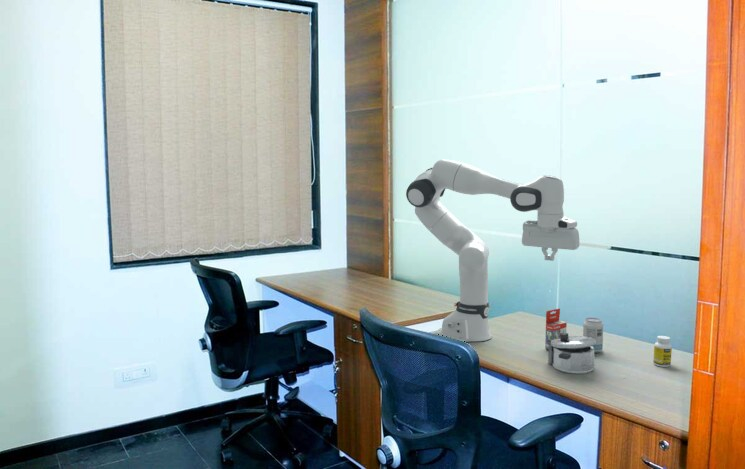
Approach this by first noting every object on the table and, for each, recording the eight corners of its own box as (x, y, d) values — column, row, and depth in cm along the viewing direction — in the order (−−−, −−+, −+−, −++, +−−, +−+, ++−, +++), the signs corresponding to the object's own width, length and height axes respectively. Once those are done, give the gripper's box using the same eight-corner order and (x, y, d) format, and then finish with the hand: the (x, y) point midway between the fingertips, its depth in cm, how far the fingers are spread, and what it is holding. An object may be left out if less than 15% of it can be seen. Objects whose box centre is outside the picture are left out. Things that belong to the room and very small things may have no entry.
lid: (542, 348, 203) (541, 338, 203) (559, 338, 214) (558, 328, 214) (586, 351, 193) (585, 340, 193) (602, 340, 204) (601, 330, 204)
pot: (539, 368, 203) (540, 349, 202) (560, 355, 216) (560, 337, 215) (582, 378, 194) (583, 357, 193) (601, 364, 207) (602, 344, 206)
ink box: (566, 347, 226) (567, 309, 224) (552, 351, 221) (553, 313, 219) (558, 345, 229) (559, 308, 227) (544, 349, 224) (545, 311, 223)
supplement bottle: (663, 368, 202) (665, 340, 201) (649, 363, 207) (651, 336, 206) (674, 365, 205) (675, 338, 203) (660, 361, 209) (661, 334, 208)
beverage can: (600, 348, 224) (601, 317, 223) (604, 354, 217) (605, 322, 216) (580, 347, 225) (581, 316, 224) (584, 353, 218) (585, 321, 217)
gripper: (519, 220, 215) (518, 258, 217) (574, 224, 202) (573, 264, 204) (526, 219, 220) (526, 256, 221) (581, 222, 207) (580, 261, 208)
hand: (549, 260), depth 212 cm, fingers closed
